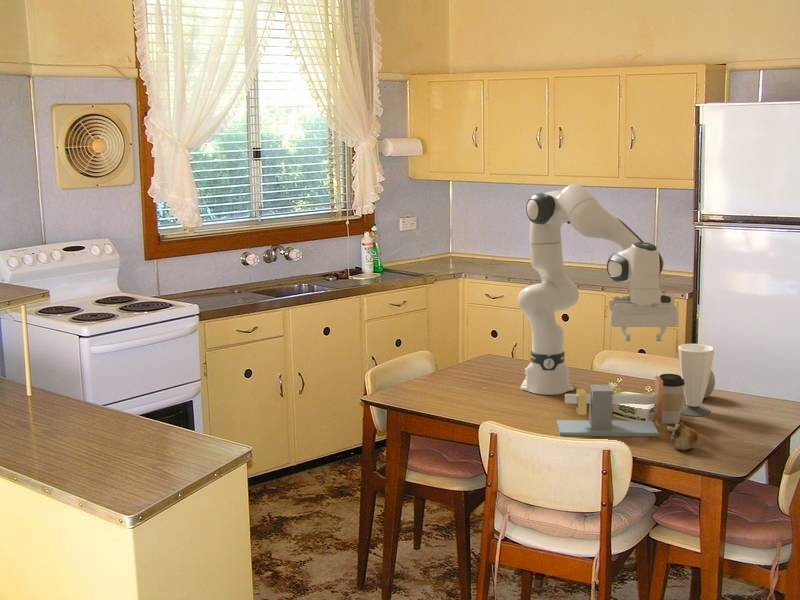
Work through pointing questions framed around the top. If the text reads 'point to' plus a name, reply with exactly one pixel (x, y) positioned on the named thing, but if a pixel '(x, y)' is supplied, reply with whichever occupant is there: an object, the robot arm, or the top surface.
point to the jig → (604, 419)
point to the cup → (695, 376)
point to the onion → (683, 437)
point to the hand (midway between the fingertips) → (643, 340)
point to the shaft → (633, 399)
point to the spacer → (581, 401)
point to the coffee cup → (672, 398)
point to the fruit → (710, 385)
